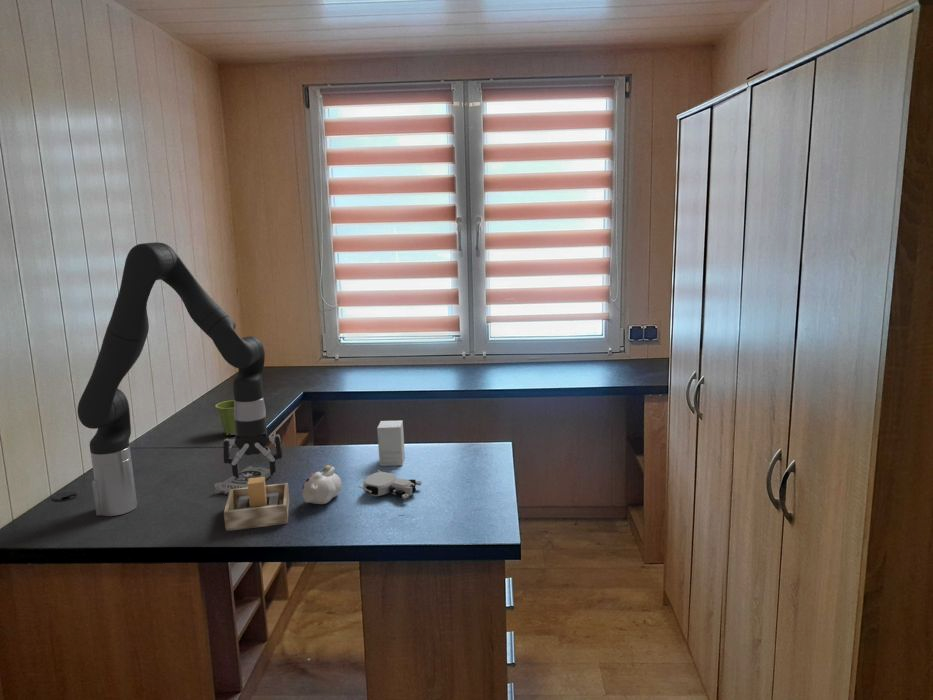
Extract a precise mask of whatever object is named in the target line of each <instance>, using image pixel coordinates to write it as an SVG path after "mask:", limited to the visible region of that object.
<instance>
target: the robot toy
mask: <svg viewBox="0 0 933 700" xmlns="http://www.w3.org/2000/svg"><path fill="white" fill-rule="evenodd" d="M362 485H363V486H361V485H357V487H358V488H360V489H362V490H363V492H364V493H366V494H368V495H370V496H372V497H380V496H385V495H387V494H389V493H391V494H392V495H394V496H396V497H397V498H399V499H400V500H401V499H403V500H404V499H408V498H410V496H412V495H413V494H415V493H416V492H417V489H416V486H418V487H419V486H421V485H422V481H421V480H416V479H405V478H397V476H396V475H395V474H394V473H390V472H385V471H381V470H379V469H377V472H374V473H372V474H370V475H368V476H367V477H366V478H365V479H364V480H363V484H362Z"/></svg>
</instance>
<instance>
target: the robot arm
mask: <svg viewBox="0 0 933 700" xmlns="http://www.w3.org/2000/svg"><path fill="white" fill-rule="evenodd" d="M124 262H125V263H124V267H123V272H122V276H121V283H120V288H119V291H118V295H117V297H116V300H115V304H114V306H113V307H114V308H113V311H112V313H111V316H110V319H109V322H108V324H107V327H106V330H105V334H104V336H103V340H102V343H101V347H100V350H99V353H98V355H97V358H96V362H95V364H94V367H93V370H92V372H91V375H90V378H89V380H88V382H87V384H86V386H85V388H84V390H83V392H82V395H81V397H80V399H79V402H78V405H77V417H78V420H79V422H80V423H81V425H83V426H84V427H85V428H87V429H91V430H95V429H97V430H96V432H95V435H94V436H92V438H91V440H90V441H89V451H90V458H91V465H92V473H93V478H94V479H93V480H92V482H91V486H92V492H93V501H94V506H95V513H96V516H103V517H115V516H120V515H124V514H128V513H129V512H131V511H134V510H135V509H136V508H137V507H138V502H137V493H136V485H135V478H134V469H133V463H132V462H133V461H132V454H131V447H130V438H131V435H132V425H131V412H130V404H129V400H128V398H127V396H126V393H124V392H123V391H122V390H121V389H119V386H120V384H121V382H122V380H123V379H124V378H125V376H126V375H127V374H128V373H129V371H131V369H132V368H133V366H134V365H135V364H136V362H137V361H138V359H139V358H140V355H141V354H142V352H143V349H144V346H145V344H146V341H147V338H148V335H149V329H150V328H149V327H150V323H149V315H148V310H147V309H148V308H147V307H148V300H149V297H150V296H151V295H150V294H151V291H152V289H153V287H154V285H155V283H156V281H160V280H161V281H163V282H164V283H165V284H166V285H168V286H169V287H170V288H171V289H173V290H174V291H175V293H176V294H177V295H178V296H179V297H180V299H181V300H182V303H183V305H184V307H185V309H186V311H187V313H188V315H189V316H190V319H191V320H192V321H193V322H194V323H195V325H197V327H199V328H200V329H201V331H203V333H204V334H205V335H207V337H208V338H209V339H211V341H213V344H214V346H215V347H216V349H217V351H218V352H219V353H220V355H221V357H222V358H223V359H224V360H225V362H226V363H228V364H229V365H230V366H232V367H233V368H235V369H238V373H237V375H236V376H235V378H234V379H233V382H232V383H233V384H232V387H233V389H232V390H233V400H234V415H235V427H236V436H235V438H234V439H233V438H232V439H230V438H228V437H226V438H224V441H223V442H222V443H223V463H224V464H229V465H231V468H232V469H231V470H232V476H236V478H239V472H240V468H239V466H240V465H239V461H240V459H242V457H243V455H246V456H250V455H260V454H262V455H263V456H264V457H266V458H267V459H268V460H269V462H268V463H269V469H270V476H274V474H275V473H276V471H277V467H276V466H277V464H276V462H277V460H281V459H282V458H283V448H282V440H281V435H280V434H279V433H277V434H275V435H271V436H269V435H268V429H267V417H266V414H267V411H266V404H265V399H264V389H263V375H264V369H265V358H266V355H265V353H266V352H265V348H264V345H263V343H262V341H261V340H260V339H259V338H258V337H256V336H249V335H248V336H244V337H242V338H241V337H240V336H239V334H238V333H237V332H236V326H237V324H236V322H235V320H234V319H233V318H232V317H231V316H230V315H229V314H228V313H227V312H226V311H225V310H224V309H223V308H222V307H221V306H220V305H219V304H218V303H217V302H216V301H215V300H214V299H213V298H212V297H211V296H210V295H209V294H208V293H207V291H206V290H205V289H204V287H202V285H201V284H200V283H199V281H198V280H197V279H196V278H195V277H194V274H192V273H191V271H190V270H189V268H188V267H187V265H185V263H184V262H183V261H182V259H181V258H180V256H179V254H178V253H177V252H176V251H175V249H174V248H172V247H171V246H170V245H168V244H166V243H164V242H145V243H139V244H136V245H134V246H133V247H131V249H130V250H129V251H128V254H127V255H126V257H125V261H124ZM269 442H271V443H272V444H273V445H275V453H273V451H272V450H271V449H270V448H269V447H268V446H267V445H268V444H269ZM233 445H235V446H236V447H237V448H238V450H237V452H236V453H235V455H234V456H233V457H232V456H231V455H230V454H231V453H230V452H231V448H232V447H233Z"/></svg>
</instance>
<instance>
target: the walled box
mask: <svg viewBox="0 0 933 700" xmlns="http://www.w3.org/2000/svg"><path fill="white" fill-rule="evenodd" d="M265 485H266V496H267V505H264V506H256V507H250V505H249V494H248V487H246V488H237V489H230V493H229V495H227V501H226V504H225V506H224V507H225V508H224V511H223V518H224V527H225V532H231V531H237V530H246V529H253V528H261V527H263V528H264V527H271V526H279V525H287V524H289V516H290V515H289V514H290V513H289V512H290V492H289V491H290V490H289V482H285V483H275V484H265Z"/></svg>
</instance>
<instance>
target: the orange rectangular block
mask: <svg viewBox="0 0 933 700" xmlns="http://www.w3.org/2000/svg"><path fill="white" fill-rule="evenodd" d="M266 485H267V484H266V480H265V477H257V478H249V480H248V494H249V505H250V507H256V506H264V505H267V496H266Z"/></svg>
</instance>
